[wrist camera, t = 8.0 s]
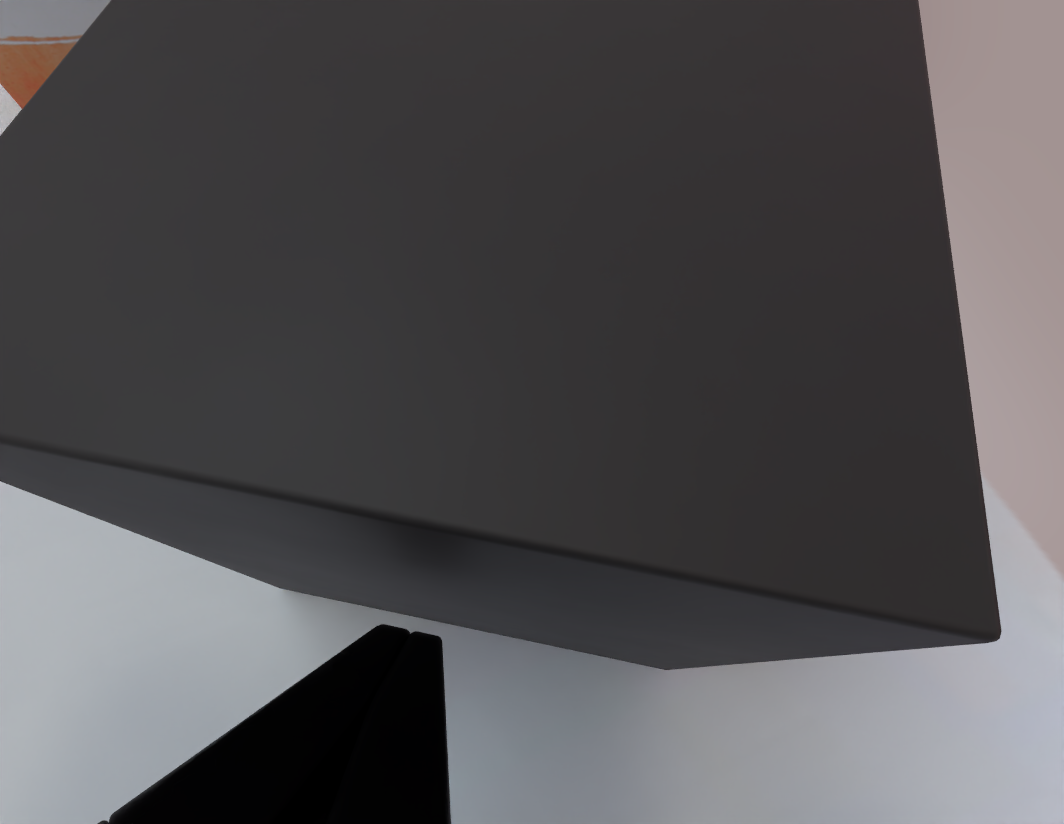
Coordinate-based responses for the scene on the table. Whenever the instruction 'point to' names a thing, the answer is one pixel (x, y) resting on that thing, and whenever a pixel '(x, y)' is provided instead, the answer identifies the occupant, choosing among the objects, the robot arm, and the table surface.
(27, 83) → the cracker box
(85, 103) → the speaker
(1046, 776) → the table surface
